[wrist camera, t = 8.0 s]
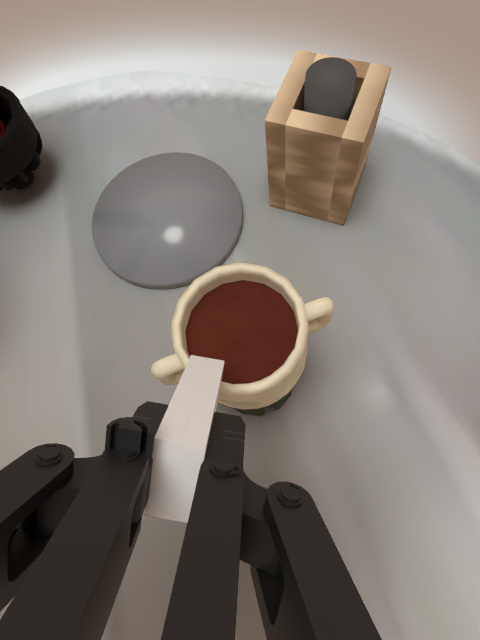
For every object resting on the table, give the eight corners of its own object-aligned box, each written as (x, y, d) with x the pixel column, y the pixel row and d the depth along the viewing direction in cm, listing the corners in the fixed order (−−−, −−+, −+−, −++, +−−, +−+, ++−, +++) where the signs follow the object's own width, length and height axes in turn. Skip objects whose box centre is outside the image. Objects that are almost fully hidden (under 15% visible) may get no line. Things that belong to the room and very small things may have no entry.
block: (270, 205, 38) (264, 120, 29) (294, 147, 40) (297, 50, 30) (343, 225, 36) (363, 142, 27) (365, 164, 38) (391, 66, 29)
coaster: (71, 263, 38) (65, 257, 37) (136, 147, 42) (132, 139, 41) (207, 309, 35) (204, 304, 34) (264, 180, 39) (263, 172, 38)
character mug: (206, 444, 31) (156, 432, 19) (179, 360, 34) (119, 302, 22) (337, 393, 32) (370, 348, 19) (301, 313, 34) (310, 229, 22)
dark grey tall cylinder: (295, 185, 37) (298, 89, 27) (307, 155, 38) (314, 53, 28) (331, 194, 36) (348, 99, 27) (343, 164, 37) (362, 62, 28)
